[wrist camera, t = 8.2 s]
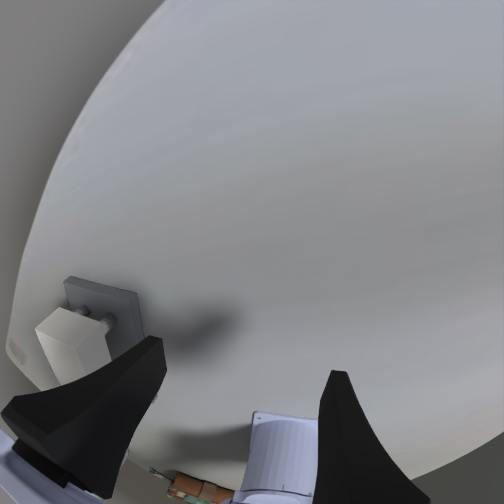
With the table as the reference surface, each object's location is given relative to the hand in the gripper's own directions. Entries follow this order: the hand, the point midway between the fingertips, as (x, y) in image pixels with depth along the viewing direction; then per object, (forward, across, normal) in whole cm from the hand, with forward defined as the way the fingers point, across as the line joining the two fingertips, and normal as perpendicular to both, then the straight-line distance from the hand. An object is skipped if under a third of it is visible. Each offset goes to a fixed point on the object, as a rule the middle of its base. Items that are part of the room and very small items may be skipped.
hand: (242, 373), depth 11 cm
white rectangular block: (+6, +15, +11) cm, 19 cm away
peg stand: (+9, +15, +11) cm, 21 cm away
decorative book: (+10, +10, +49) cm, 51 cm away
